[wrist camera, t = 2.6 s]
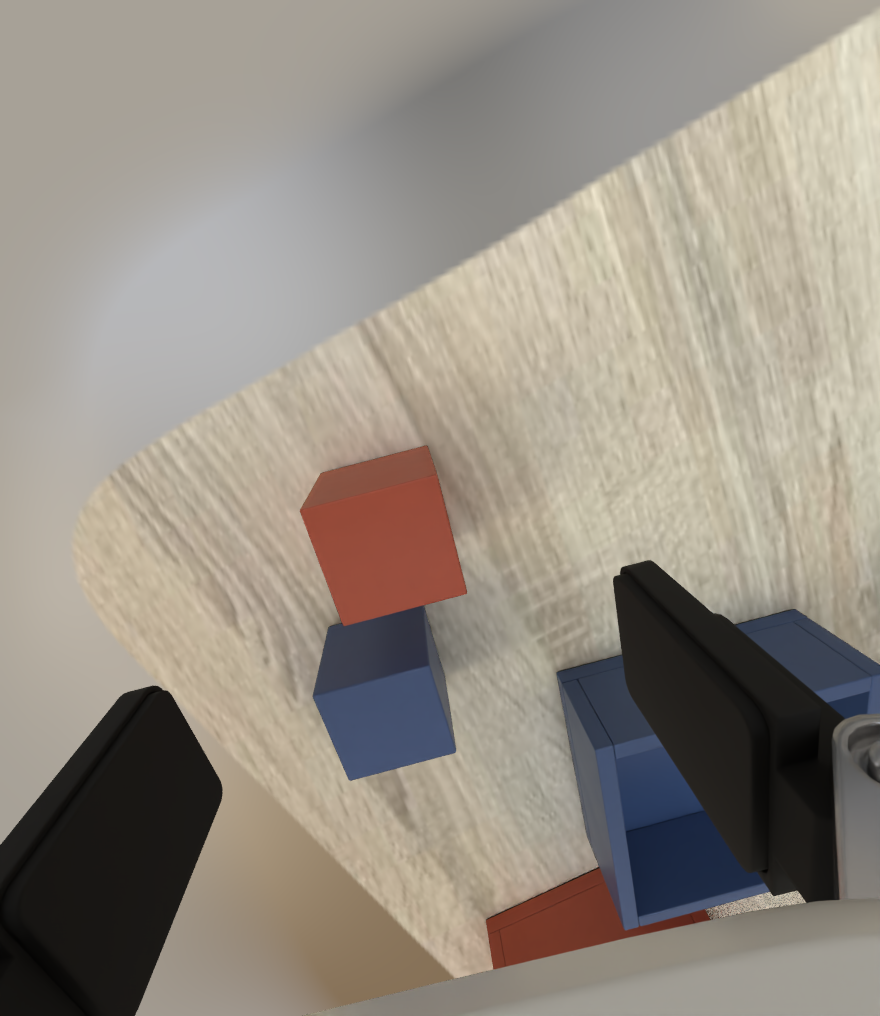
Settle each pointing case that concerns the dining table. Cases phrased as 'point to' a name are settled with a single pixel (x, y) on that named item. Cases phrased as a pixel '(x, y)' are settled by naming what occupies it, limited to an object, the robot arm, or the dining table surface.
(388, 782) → the dining table surface
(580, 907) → the terracotta bin
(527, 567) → the dining table surface
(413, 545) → the terracotta block
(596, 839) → the blue bin
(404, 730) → the blue block
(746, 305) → the dining table surface
